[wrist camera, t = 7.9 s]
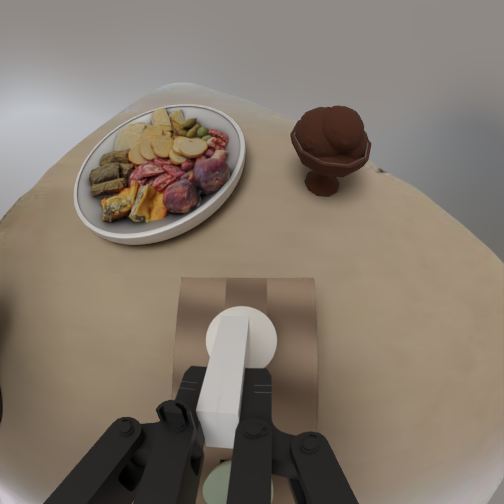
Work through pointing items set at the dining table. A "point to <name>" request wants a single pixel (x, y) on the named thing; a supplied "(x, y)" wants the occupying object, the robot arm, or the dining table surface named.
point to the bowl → (160, 174)
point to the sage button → (220, 484)
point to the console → (280, 367)
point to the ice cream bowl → (330, 146)
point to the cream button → (260, 334)
